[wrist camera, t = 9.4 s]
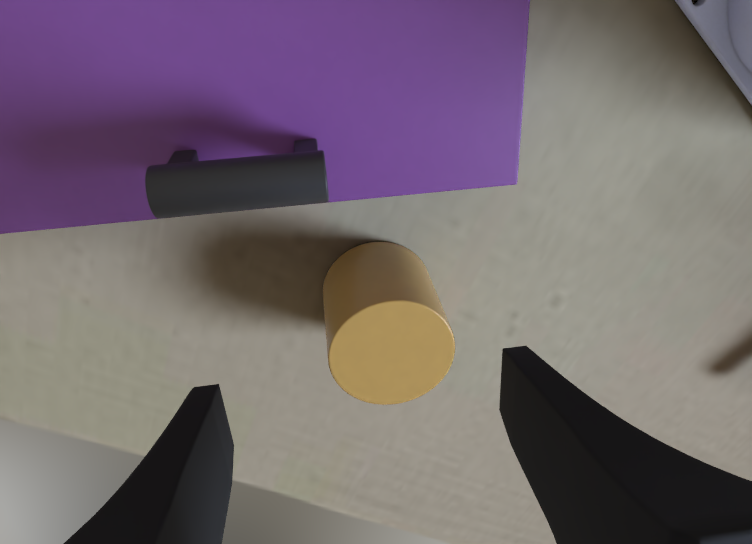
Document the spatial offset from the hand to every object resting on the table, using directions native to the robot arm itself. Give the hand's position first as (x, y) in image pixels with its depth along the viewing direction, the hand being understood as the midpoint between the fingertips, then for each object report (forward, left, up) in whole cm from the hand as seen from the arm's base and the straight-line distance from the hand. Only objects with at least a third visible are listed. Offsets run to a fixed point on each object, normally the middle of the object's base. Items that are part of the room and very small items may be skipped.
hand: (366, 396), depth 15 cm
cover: (+8, -4, -7) cm, 11 cm away
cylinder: (-2, +1, -9) cm, 9 cm away
